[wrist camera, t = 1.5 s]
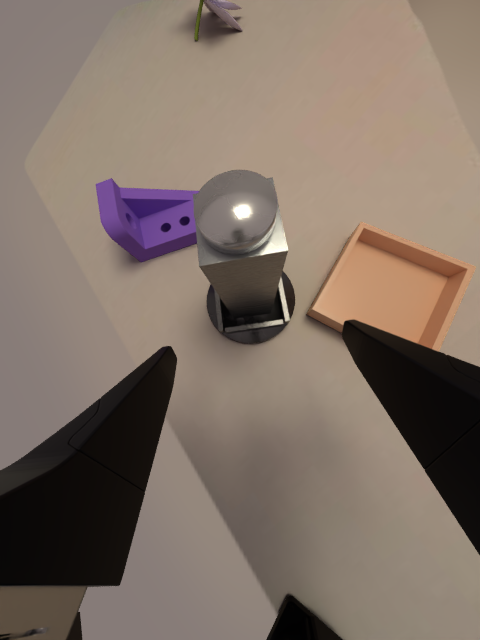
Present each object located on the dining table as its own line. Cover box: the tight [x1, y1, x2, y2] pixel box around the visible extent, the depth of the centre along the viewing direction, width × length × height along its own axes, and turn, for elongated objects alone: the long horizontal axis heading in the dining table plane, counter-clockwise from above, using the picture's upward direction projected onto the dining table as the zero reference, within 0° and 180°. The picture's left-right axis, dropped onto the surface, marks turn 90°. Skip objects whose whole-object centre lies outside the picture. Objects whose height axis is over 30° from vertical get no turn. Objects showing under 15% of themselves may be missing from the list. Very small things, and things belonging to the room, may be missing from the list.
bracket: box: [96, 178, 199, 262], centre depth 23 cm, size 12×7×7 cm, turn 107°
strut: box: [193, 170, 288, 319], centre depth 15 cm, size 4×4×14 cm
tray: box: [307, 222, 476, 352], centre depth 20 cm, size 12×12×2 cm
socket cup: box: [207, 271, 295, 344], centre depth 22 cm, size 11×11×2 cm
